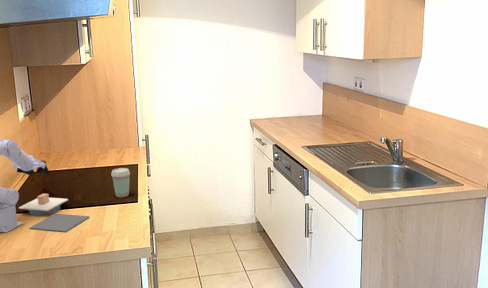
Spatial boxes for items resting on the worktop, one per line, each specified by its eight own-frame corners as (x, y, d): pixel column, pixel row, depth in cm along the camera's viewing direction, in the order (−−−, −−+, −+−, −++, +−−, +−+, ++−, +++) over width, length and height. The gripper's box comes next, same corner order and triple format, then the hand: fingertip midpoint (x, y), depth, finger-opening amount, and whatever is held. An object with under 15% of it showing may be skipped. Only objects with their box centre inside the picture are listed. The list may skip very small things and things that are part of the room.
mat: (66, 232, 189) (65, 231, 189) (29, 228, 193) (29, 227, 193) (89, 217, 204) (89, 216, 204) (55, 214, 208) (55, 213, 208)
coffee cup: (124, 191, 238) (122, 166, 235) (135, 194, 232) (134, 169, 230) (108, 196, 231) (106, 170, 229) (120, 199, 226) (118, 173, 223)
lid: (47, 211, 205) (46, 201, 204) (18, 208, 209) (17, 199, 208) (68, 200, 219) (67, 191, 218) (40, 198, 222) (39, 189, 221)
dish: (48, 215, 207) (47, 210, 207) (23, 213, 210) (22, 208, 210) (65, 206, 218) (64, 200, 218) (41, 204, 221) (40, 199, 221)
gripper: (39, 149, 201) (58, 165, 212) (9, 149, 205) (29, 165, 216) (33, 165, 198) (53, 180, 209) (3, 165, 202) (23, 180, 213)
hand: (40, 173), depth 212 cm, fingers open, 7 cm apart
